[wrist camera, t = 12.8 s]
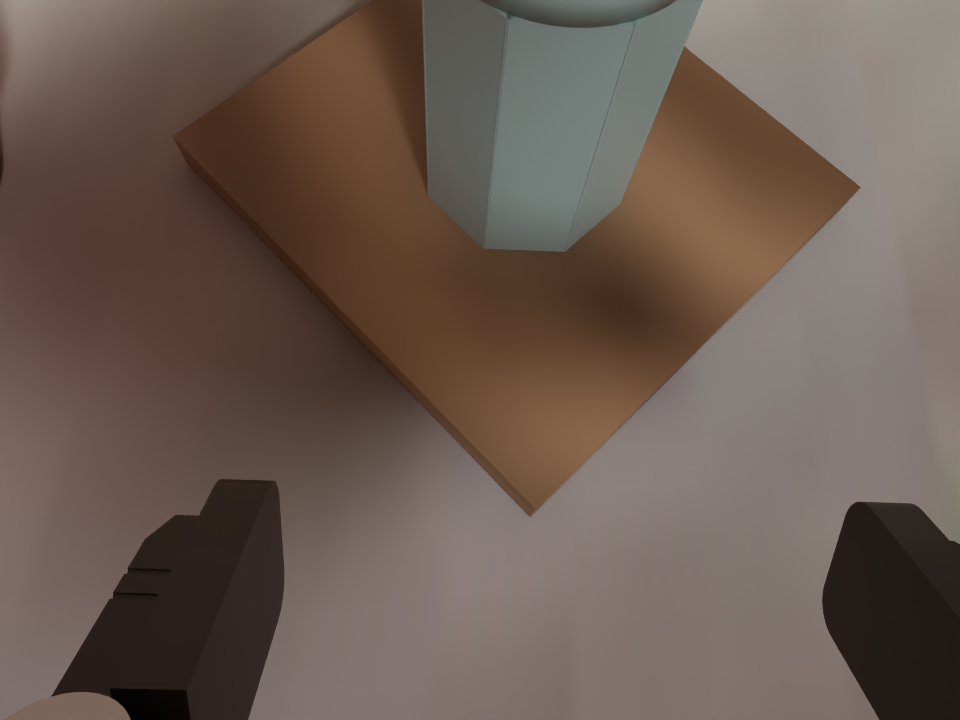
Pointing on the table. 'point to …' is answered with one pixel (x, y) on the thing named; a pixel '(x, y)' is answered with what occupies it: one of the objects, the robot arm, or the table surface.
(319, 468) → the table surface
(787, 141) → the post stand
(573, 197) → the grey canister
